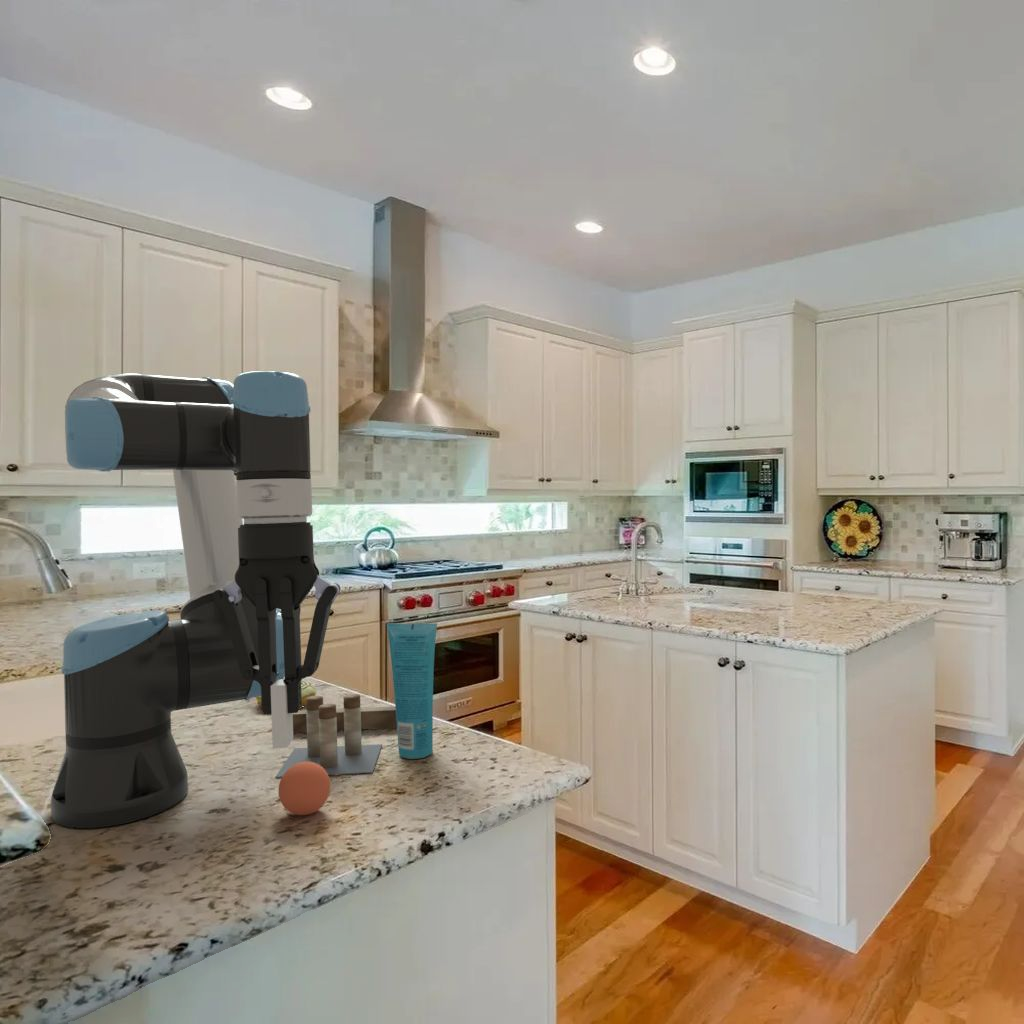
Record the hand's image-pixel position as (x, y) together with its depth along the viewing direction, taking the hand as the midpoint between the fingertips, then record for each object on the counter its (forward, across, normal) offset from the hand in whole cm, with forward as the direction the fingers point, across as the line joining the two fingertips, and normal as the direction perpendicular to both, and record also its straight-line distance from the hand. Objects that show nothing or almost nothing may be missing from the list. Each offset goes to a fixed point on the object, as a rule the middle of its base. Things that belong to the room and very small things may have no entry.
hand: (283, 743), depth 76 cm
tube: (+12, +12, +28) cm, 33 cm away
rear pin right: (+11, -3, +29) cm, 32 cm away
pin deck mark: (+12, 0, +27) cm, 29 cm away
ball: (+9, 0, +10) cm, 13 cm away
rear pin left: (+12, +2, +29) cm, 32 cm away
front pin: (+12, 0, +25) cm, 27 cm away
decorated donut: (+12, -14, +58) cm, 61 cm away
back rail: (+11, 0, +41) cm, 43 cm away
